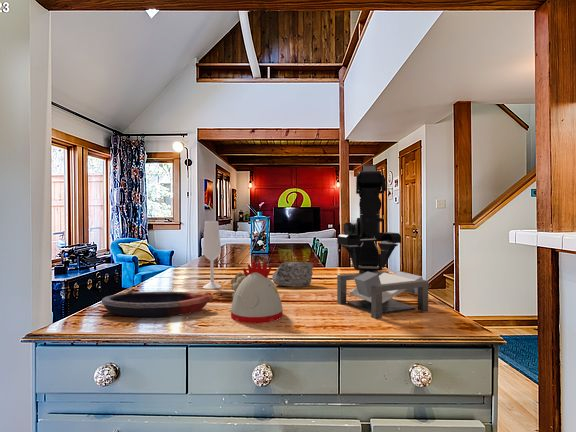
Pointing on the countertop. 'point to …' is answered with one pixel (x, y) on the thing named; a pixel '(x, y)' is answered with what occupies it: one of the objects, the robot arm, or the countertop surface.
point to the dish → (155, 303)
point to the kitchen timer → (256, 297)
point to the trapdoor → (391, 278)
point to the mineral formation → (237, 281)
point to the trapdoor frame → (376, 296)
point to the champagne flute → (211, 249)
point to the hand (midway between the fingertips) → (369, 268)
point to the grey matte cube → (366, 283)
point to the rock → (293, 274)
